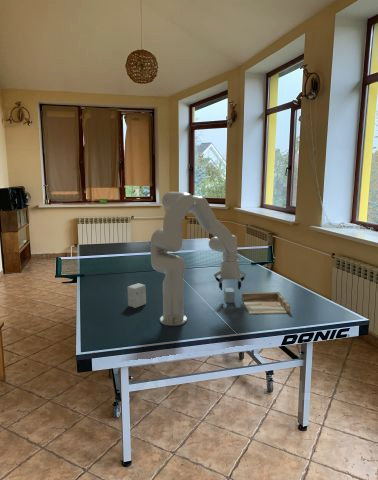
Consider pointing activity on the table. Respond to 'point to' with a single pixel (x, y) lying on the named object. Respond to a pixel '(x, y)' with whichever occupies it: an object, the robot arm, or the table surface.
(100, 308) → the table surface
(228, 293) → the grey block
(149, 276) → the table surface
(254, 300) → the wooden tray
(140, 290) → the small box
